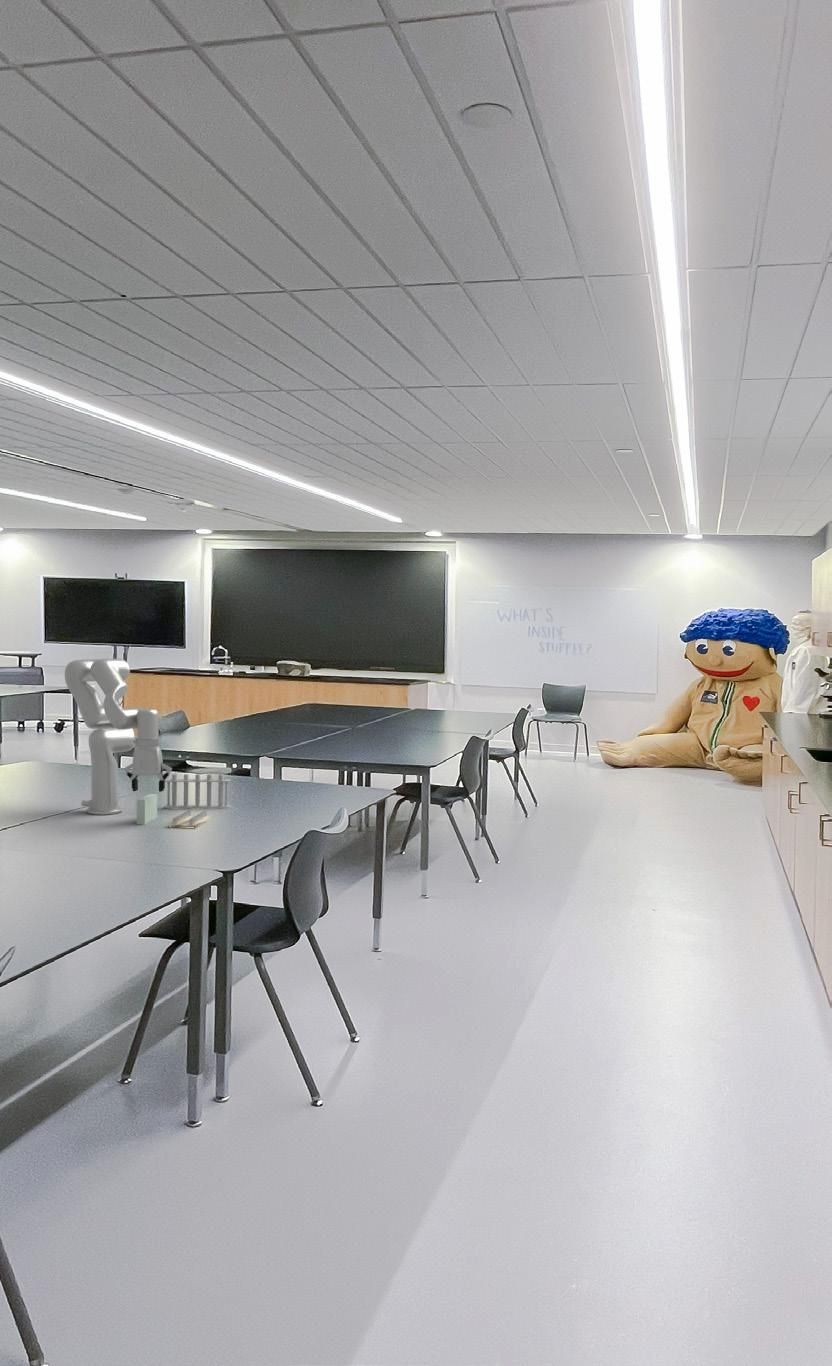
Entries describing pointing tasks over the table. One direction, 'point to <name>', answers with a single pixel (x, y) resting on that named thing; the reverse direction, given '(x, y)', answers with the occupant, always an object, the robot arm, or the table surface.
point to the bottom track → (190, 820)
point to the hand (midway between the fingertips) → (148, 791)
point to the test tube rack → (197, 791)
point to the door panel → (146, 808)
